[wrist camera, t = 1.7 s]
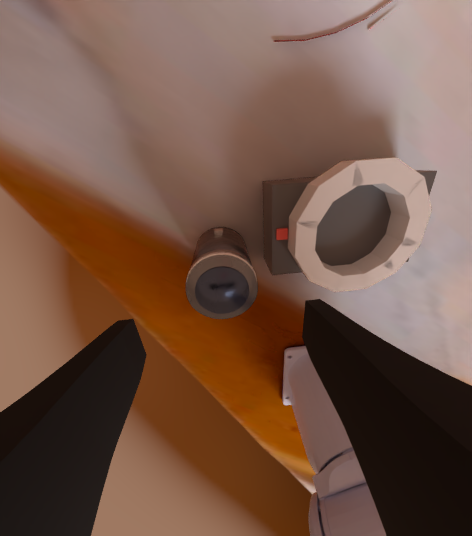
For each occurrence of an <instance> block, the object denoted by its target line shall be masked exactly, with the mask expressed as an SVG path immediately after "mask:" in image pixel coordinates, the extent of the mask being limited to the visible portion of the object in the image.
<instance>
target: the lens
mask: <svg viewBox="0 0 472 536" xmlns="http://www.w3.org/2000/svg"><path fill="white" fill-rule="evenodd" d="M257 292H258V283H257V277H256V274H255V271H254V268H253V266H252V264H251V261H250V258H249V255H248V252H247V249H246V246H245V243H244V241H243V239H242V237H241V236H240V235H239V234H238V233H237V232H236V231H234V230H232V229H230V228H226V227H216V228H212V229H210V230H208V231H206V232H205V233H204V234H203V235H202V236H201V237H200V239H199V240H198V243H197V246H196V250H195V253H194V257H193V261H192V264H191V267H190V269H189V272H188V276H187V280H186V295H187V298H188V300H189V302H190V304H191V305H192V306H193V308H194V309H195V310H197V311H198V312H199V313H201V314H203V315H205V316H207V317H210V318H215V319H227V318H232V317H235V316H238V315H240V314H242V313H243V312H245V311H246V310H247V309H249V307H250V306H251V305H252V304H253V302H254V301H255V299H256V296H257Z"/></svg>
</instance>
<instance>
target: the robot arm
mask: <svg viewBox="0 0 472 536" xmlns="http://www.w3.org/2000/svg"><path fill="white" fill-rule="evenodd" d="M302 338H303V340H304V343H305V346H301V347H292V348H287V349H286V350H285V351H284V373H283V397H282V401H283V404H284V405H292V408H293V411H294V414H295V418H296V421H297V424H298V427H299V431H300V434H301V437H302V441H303V444H304V447H305V450H306V454H307V457H308V459H309V462H310V464H311V466H312V468H313V470H314V471H315V473H316V475H314V476H313V477H312V478H313V481H314V485H315V488H316V491H317V492H315V493H314V494H313V495H312V497H311V501H310V510H309V527H310V535H311V536H472V386H471V385H469V384H466V383H464V382H462V381H460V380H458V379H456V378H454V377H452V376H450V375H448V374H445V373H443V372H441V371H440V370H438V369H436V368H434V367H432V366H430V365H428V364H426V363H424V362H422V361H420V360H418V359H416V358H414V357H412V356H411V355H409V354H407V353H405V352H403V351H402V350H400V349H398V348H396V347H395V346H393V345H391V344H390V343H388V342H386V341H384V340H383V339H381V338H379V337H378V336H376V335H374V334H373V333H371V332H370V331H368V330H366V329H365V328H363V327H362V326H360V325H359V324H357V323H355V322H354V321H352V320H351V319H349V318H348V317H346V316H345V315H343V314H342V313H340V312H339V311H337V310H336V309H334V308H333V307H331V306H330V305H328V304H327V303H325V302H324V301H322V300H320V299H317V300H308V301H306V302H305V313H304V324H303V335H302ZM145 358H146V352H145V350H144V347H143V344H142V341H141V339H140V336H139V333H138V331H137V328H136V325H135V323H134V320H133V319H129V320H120V321H117V322H116V323H114V324H113V325H112V326H110V327H109V328H108V329H107V330H106V331H104V332H103V333H102V334H101V335H99V336H98V337H97V338H96V339H95V340H93V341H92V342H91V343H90V344H89V345H87V346H86V347H85V348H84V349H82V350H81V351H80V352H79V353H78V354H76V355H75V356H74V357H73V358H72V359H70V360H69V361H68V362H67V363H66V364H64V365H63V366H62V367H60V368H59V369H58V370H56V371H55V372H54V373H53V374H51V375H50V376H49V377H48V378H46V379H45V380H44V381H42V382H41V383H40V384H39V385H37V386H36V387H35V388H33V389H32V390H31V391H29V392H28V393H27V394H25V395H24V396H23V397H21V398H20V399H19V400H17V401H16V402H14V403H13V404H12V405H10V406H9V407H7V408H6V409H5V410H3V411H2V412H0V536H91V533H92V529H93V525H94V521H95V518H96V514H97V510H98V506H99V502H100V498H101V495H102V491H103V487H104V484H105V480H106V477H107V473H108V470H109V466H110V463H111V459H112V457H113V453H114V451H115V447H116V445H117V442H118V439H119V436H120V434H121V431H122V429H123V426H124V423H125V420H126V418H127V415H128V412H129V410H130V407H131V404H132V401H133V399H134V396H135V393H136V390H137V388H138V385H139V382H140V379H141V376H142V372H143V367H144V363H145Z"/></svg>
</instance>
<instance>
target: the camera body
mask: <svg viewBox="0 0 472 536" xmlns="http://www.w3.org/2000/svg"><path fill="white" fill-rule="evenodd" d="M436 173H437V171H421V170H414V169H413V168H411V167H410V166H408V165H407V164H405V163H404V162H403V161H401V160H400V159H398V158H397V157H396V158H375V159H363V160H351V161H341V162H339V163H338V164H336V165H335V166H333V167H332V168H330V169H329V170H327V171H326V172H325V173H323V174H322V175H320V176H319V177H309V178H297V179H286V180H274V181H263V227H264V259H265V262H266V264H267V266H268V268H269V270H270V272H271V274H272V275H278V274H288V273H298V272H303V274H304V275H305V276H306V277H307V279H308V280H309V281H310V282H312V283H315V284H317V285H319V286H322V287H324V288H327V289H329V290H331V291H334V292H341V291H351V290H360V289H366V288H368V287H370V286H372V285H374V284H376V283H377V282H379V281H381V280H383V279H385V278H387V277H388V276H390V275H392V274H394V273H396V272H397V271H398V270H399V268H400V267H401V266H402V265H403V264H404V263H405V262H408V260H409V257H410V256H411V255H412V254H413V252H414V251H415V250H416V249H417V248H418V247H419V246H420V244H421V241H422V238H423V235H424V232H425V229H426V226H427V223H428V220H429V217H430V214H431V211H432V208H431V203H430V199H429V194H430V191H431V188H432V185H433V182H434V179H435V176H436Z"/></svg>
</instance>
